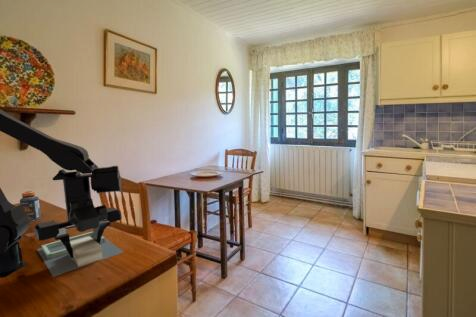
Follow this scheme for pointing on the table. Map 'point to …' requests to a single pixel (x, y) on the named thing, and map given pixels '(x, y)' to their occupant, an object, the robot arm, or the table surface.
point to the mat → (67, 264)
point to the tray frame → (57, 243)
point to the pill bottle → (31, 205)
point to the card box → (85, 251)
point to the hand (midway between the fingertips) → (84, 253)
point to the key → (30, 234)
